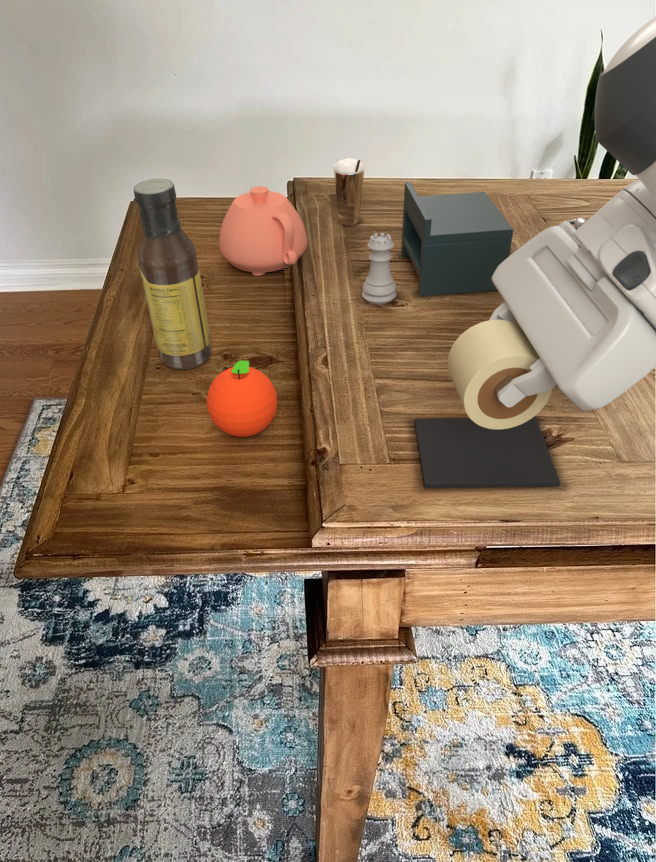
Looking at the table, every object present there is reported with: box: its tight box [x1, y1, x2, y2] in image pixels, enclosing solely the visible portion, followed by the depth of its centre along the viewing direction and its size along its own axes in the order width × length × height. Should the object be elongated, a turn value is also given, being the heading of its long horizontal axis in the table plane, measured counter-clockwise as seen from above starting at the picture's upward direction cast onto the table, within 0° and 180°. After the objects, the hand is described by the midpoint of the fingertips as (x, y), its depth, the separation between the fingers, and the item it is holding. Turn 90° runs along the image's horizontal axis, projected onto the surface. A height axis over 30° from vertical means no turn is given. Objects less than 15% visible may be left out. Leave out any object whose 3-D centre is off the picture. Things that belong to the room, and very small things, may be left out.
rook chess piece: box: [361, 232, 397, 305], centre depth 91 cm, size 4×4×8 cm
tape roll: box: [446, 320, 553, 430], centre depth 64 cm, size 8×6×8 cm
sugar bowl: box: [218, 185, 308, 276], centre depth 100 cm, size 12×14×10 cm
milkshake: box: [333, 157, 366, 226], centre depth 110 cm, size 5×5×10 cm
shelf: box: [400, 181, 514, 297], centre depth 95 cm, size 11×13×10 cm
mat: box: [413, 416, 561, 489], centre depth 69 cm, size 12×10×1 cm
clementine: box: [206, 360, 278, 438], centre depth 72 cm, size 8×7×7 cm
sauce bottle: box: [133, 178, 212, 370], centre depth 78 cm, size 6×6×20 cm
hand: (488, 375), depth 64 cm, fingers closed on tape roll, 6 cm apart
